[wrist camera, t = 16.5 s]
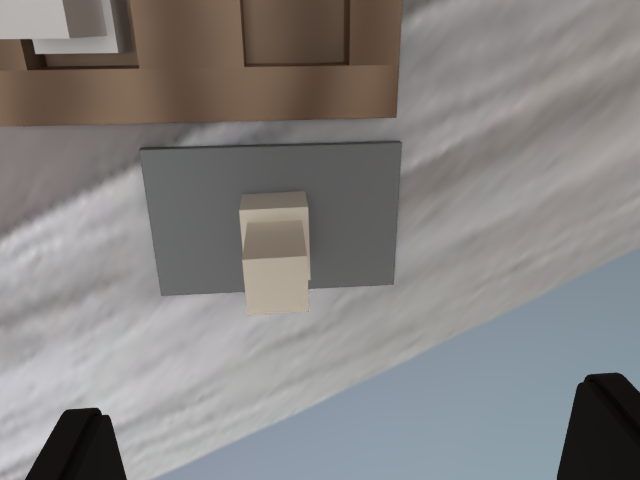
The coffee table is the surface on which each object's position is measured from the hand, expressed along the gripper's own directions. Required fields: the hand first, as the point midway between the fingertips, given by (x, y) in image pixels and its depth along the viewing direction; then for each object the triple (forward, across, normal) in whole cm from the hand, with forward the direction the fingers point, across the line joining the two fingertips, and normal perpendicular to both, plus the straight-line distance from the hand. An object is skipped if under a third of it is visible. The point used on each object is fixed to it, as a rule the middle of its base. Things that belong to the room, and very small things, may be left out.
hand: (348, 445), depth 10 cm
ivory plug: (+23, +2, +5) cm, 23 cm away
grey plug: (+23, +11, -9) cm, 27 cm away
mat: (+23, +2, +4) cm, 24 cm away
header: (+24, +6, -9) cm, 26 cm away
